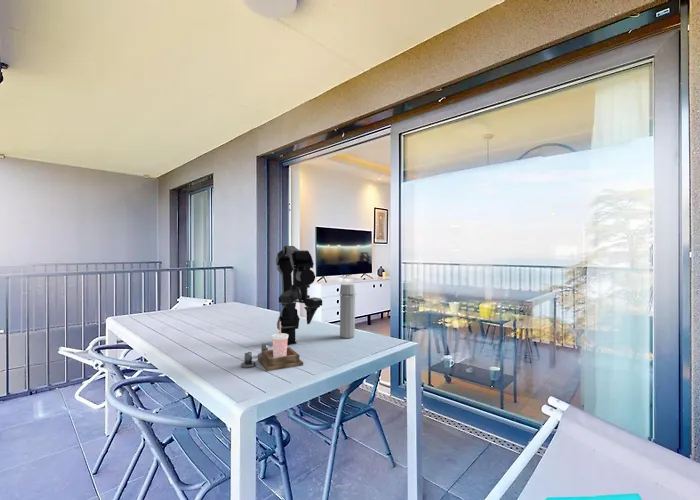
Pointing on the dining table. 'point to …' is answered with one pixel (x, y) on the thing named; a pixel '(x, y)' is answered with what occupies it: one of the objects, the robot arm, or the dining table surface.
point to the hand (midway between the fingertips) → (299, 322)
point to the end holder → (279, 360)
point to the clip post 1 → (248, 361)
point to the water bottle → (347, 310)
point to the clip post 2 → (263, 348)
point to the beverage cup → (279, 344)
